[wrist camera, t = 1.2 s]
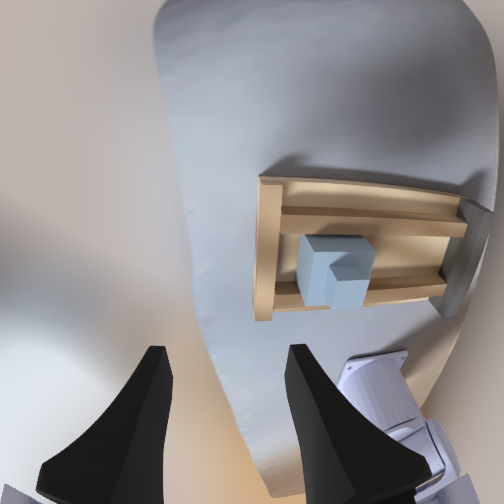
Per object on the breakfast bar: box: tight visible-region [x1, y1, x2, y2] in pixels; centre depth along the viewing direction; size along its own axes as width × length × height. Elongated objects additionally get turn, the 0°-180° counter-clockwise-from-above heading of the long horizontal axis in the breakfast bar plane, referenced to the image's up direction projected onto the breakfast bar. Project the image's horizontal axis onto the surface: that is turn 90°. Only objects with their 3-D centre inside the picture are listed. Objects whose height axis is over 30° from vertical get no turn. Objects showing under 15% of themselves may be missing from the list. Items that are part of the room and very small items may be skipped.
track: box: [253, 176, 494, 321], centre depth 19 cm, size 10×18×4 cm, turn 88°
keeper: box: [295, 234, 377, 310], centre depth 17 cm, size 4×4×5 cm
